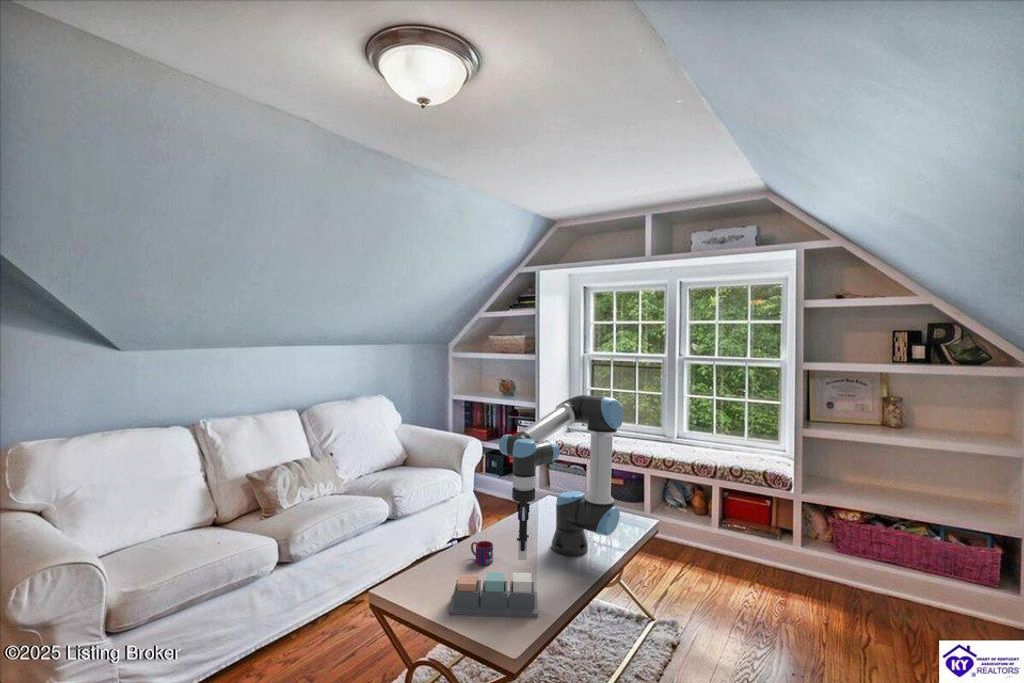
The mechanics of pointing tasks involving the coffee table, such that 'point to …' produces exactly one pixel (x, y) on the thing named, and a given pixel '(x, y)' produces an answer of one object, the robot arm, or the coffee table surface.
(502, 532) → the coffee table surface
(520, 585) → the ivory key
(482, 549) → the mug
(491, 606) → the console
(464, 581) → the terracotta key
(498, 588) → the teal key
